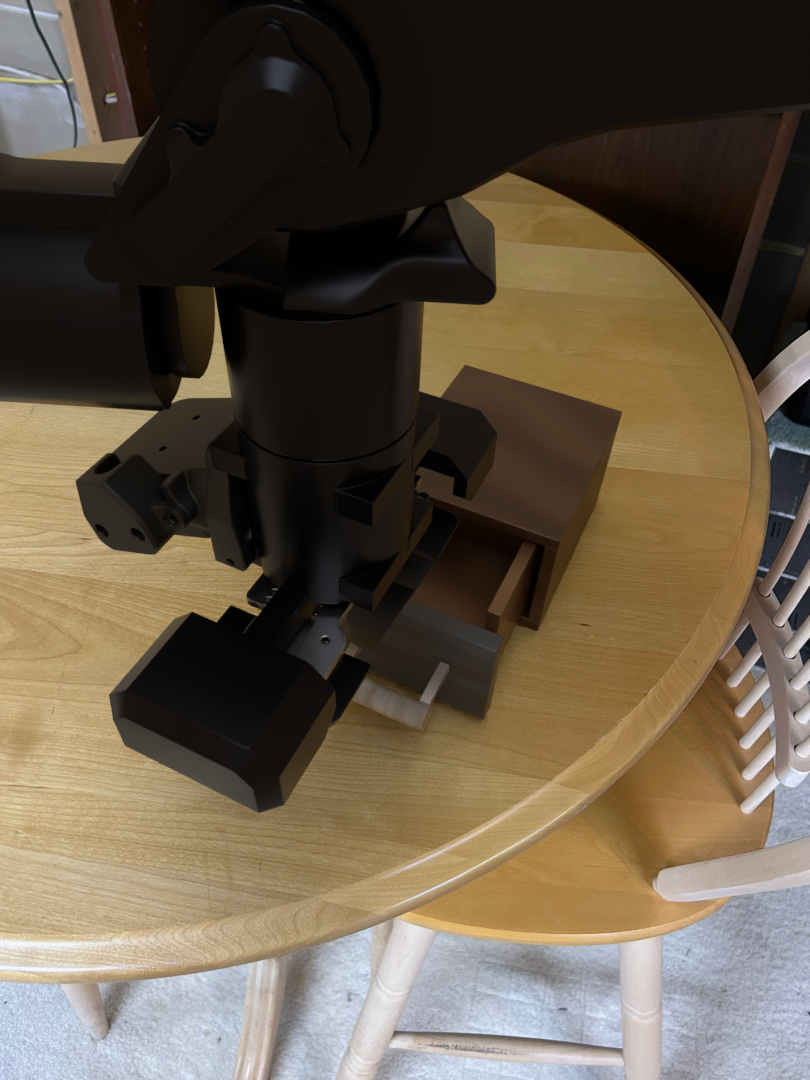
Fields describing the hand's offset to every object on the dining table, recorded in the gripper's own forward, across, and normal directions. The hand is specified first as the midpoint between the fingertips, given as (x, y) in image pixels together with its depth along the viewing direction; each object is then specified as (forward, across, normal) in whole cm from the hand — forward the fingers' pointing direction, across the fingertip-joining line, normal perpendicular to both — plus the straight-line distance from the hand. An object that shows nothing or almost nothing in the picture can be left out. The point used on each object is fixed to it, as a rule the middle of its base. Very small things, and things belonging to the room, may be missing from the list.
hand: (340, 681), depth 36 cm
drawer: (+10, -11, 0) cm, 15 cm away
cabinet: (+11, -22, 0) cm, 25 cm away
